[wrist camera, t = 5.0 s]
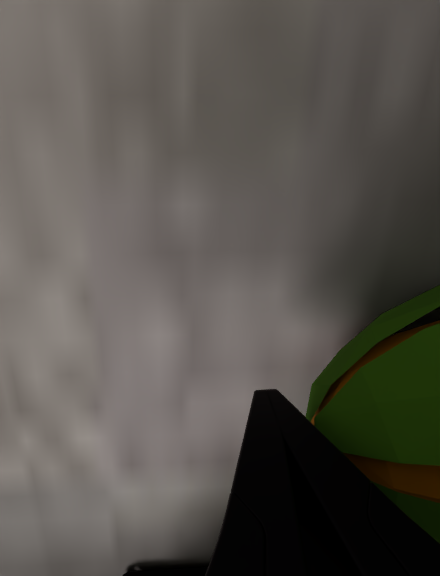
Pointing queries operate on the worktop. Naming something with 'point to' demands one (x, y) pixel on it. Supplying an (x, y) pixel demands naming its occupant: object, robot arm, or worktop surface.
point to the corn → (389, 407)
